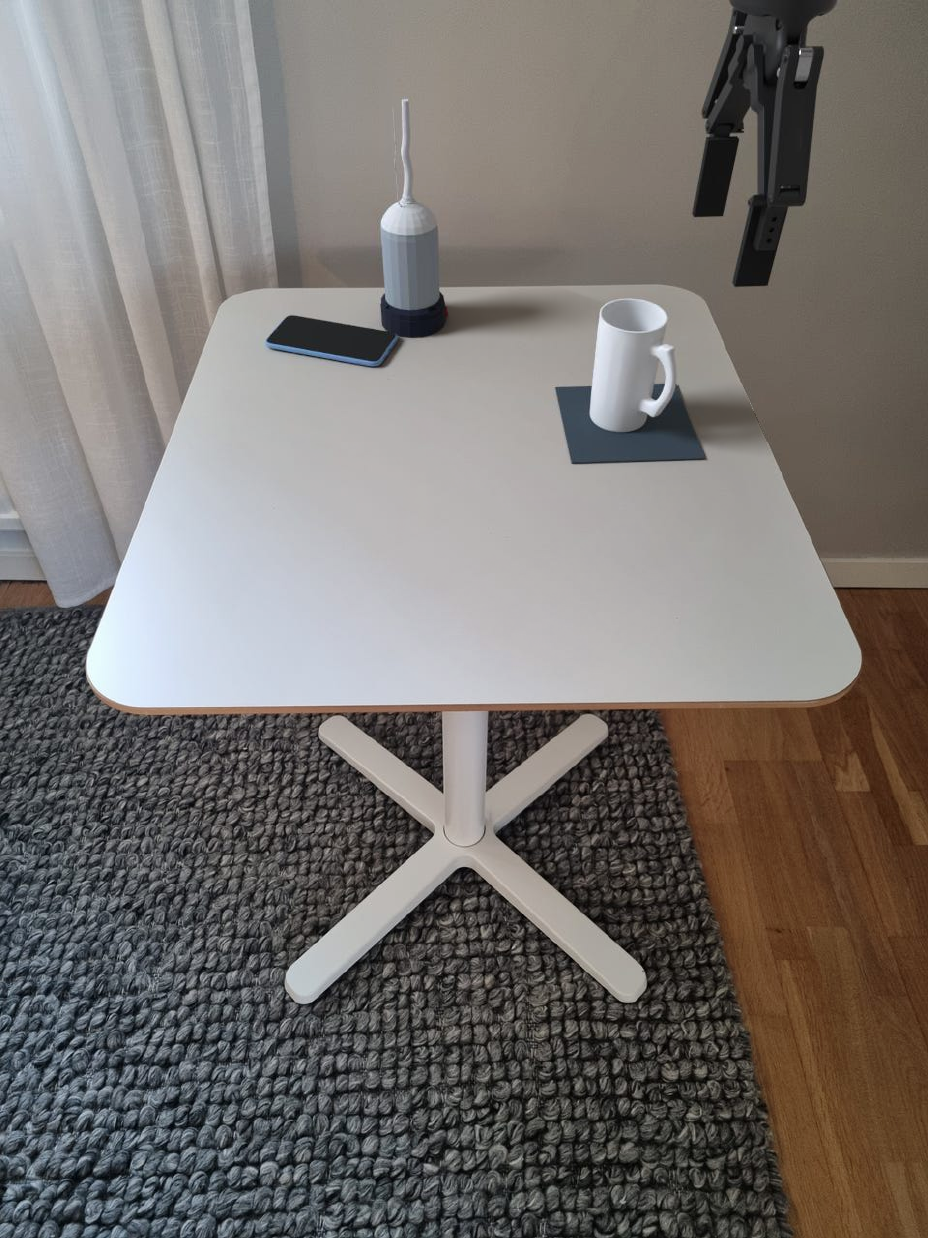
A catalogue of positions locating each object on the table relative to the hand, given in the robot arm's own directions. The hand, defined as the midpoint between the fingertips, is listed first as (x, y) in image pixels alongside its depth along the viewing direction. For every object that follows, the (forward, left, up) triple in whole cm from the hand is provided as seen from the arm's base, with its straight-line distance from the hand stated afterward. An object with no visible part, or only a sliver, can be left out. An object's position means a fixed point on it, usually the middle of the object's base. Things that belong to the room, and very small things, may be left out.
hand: (727, 247), depth 75 cm
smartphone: (+24, +38, -22) cm, 50 cm away
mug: (+5, +5, -22) cm, 23 cm away
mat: (+6, +5, -22) cm, 23 cm away
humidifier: (+29, +28, -22) cm, 46 cm away
